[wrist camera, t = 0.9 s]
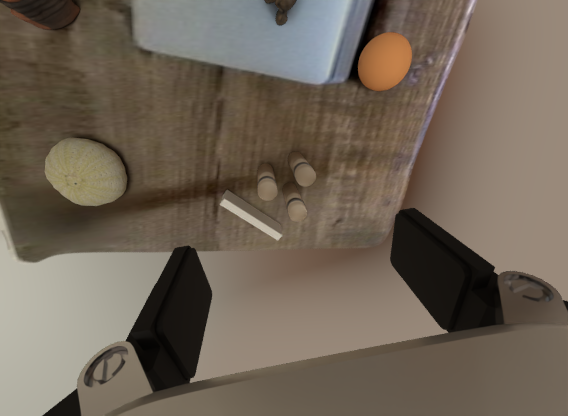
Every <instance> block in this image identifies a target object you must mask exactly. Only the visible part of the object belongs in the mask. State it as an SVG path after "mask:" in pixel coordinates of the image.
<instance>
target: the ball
mask: <svg viewBox="0 0 568 416" xmlns="http://www.w3.org/2000/svg"><path fill="white" fill-rule="evenodd" d="M411 60H412V51H411V46H410V44H409V42H408V41H407V39H406V38H405V37H404V36H402V35H401V34H398V33H394V32H388V33H383V34H380V35H378V36H376V37H375V38H374V39H372V40H371V41H370V42H369V43H368V44H367V45H366V46H365V48H364V49H363V51H362V53H361V55H360V58H359V62H358V74H359V77H360V80H361V81H362V83H363V84H364V85H365V86H366V87H367V88H369V89H371V90H375V91H383V90H387V89H390V88H392V87H394V86H395V85H397V84H398V83H399V82H400V81H401V80H402V79H403V78H404V76H405V75H406V73H407V72H408V70H409V67H410V64H411Z"/></svg>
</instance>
